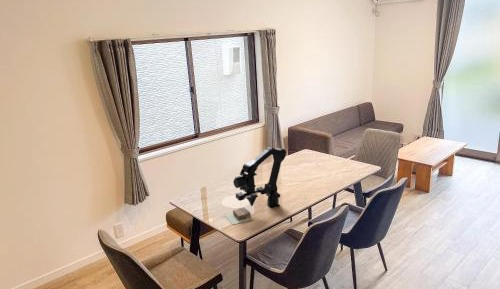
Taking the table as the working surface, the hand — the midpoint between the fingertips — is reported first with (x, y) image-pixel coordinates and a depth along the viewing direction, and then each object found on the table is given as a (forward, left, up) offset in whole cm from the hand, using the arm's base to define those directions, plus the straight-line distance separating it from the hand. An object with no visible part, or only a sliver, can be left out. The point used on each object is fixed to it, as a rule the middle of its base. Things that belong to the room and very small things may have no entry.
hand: (251, 205), depth 230 cm
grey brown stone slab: (+3, 0, -3) cm, 5 cm away
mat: (+10, 0, -5) cm, 12 cm away
